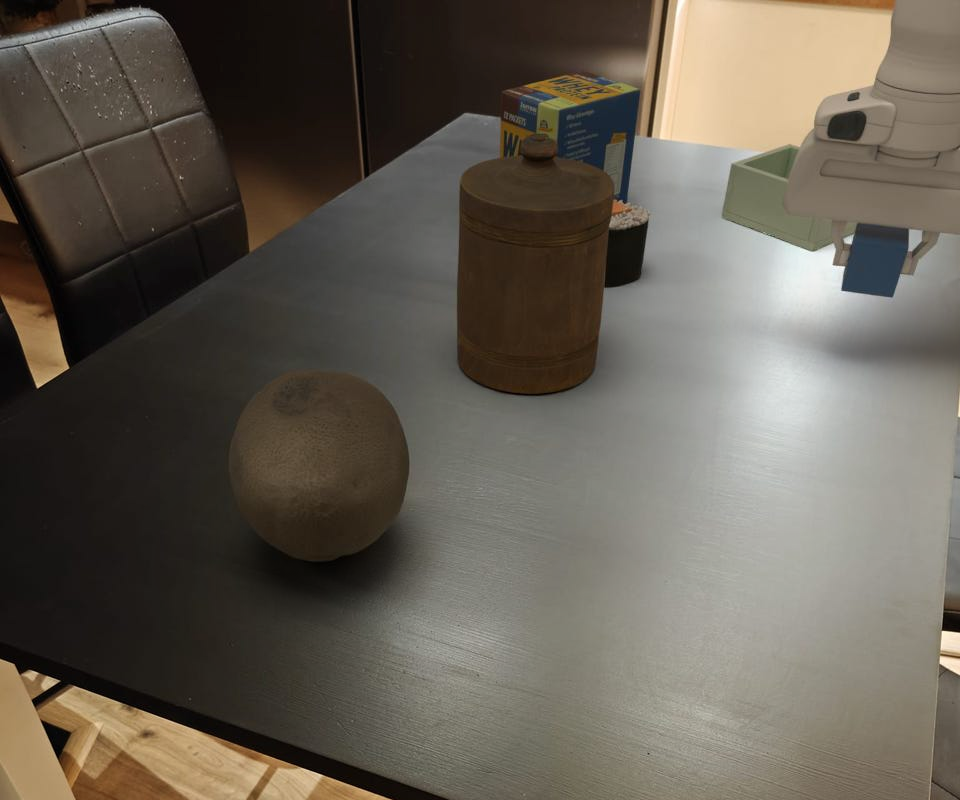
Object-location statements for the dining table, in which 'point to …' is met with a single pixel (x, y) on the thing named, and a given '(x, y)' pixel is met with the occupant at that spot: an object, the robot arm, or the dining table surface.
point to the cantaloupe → (319, 464)
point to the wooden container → (531, 268)
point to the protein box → (576, 122)
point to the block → (875, 260)
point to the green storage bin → (773, 200)
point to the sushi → (625, 243)
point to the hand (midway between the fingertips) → (871, 268)
